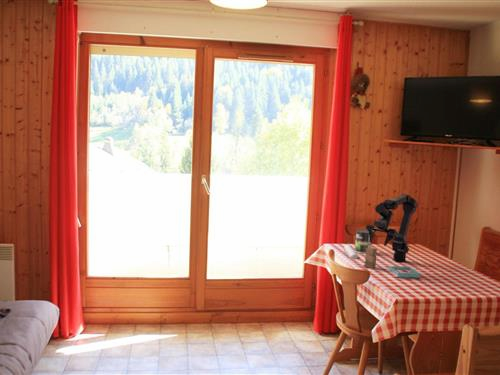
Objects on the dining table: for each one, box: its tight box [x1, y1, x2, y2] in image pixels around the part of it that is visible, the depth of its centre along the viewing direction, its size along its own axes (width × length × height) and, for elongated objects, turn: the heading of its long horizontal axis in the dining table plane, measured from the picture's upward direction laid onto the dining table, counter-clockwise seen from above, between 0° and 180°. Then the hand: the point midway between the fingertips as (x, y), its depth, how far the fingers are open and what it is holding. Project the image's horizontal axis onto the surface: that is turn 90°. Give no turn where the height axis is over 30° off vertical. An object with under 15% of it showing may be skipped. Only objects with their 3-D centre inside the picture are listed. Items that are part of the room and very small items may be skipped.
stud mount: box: [362, 264, 379, 270], centre depth 295 cm, size 7×7×4 cm
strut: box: [364, 246, 378, 268], centre depth 294 cm, size 4×4×11 cm
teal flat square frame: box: [388, 265, 421, 279], centre depth 287 cm, size 13×13×3 cm
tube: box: [343, 244, 359, 260], centre depth 324 cm, size 5×5×25 cm
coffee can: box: [354, 229, 372, 255], centre depth 337 cm, size 10×10×14 cm
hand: (377, 244), depth 296 cm, fingers open, 9 cm apart
